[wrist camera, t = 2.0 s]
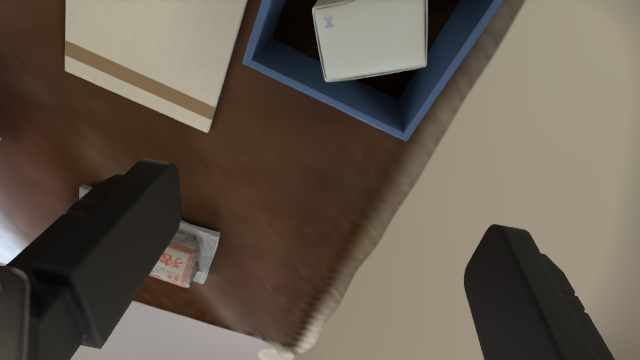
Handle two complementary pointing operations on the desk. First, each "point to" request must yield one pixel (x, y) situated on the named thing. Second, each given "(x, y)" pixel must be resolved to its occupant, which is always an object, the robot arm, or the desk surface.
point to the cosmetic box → (370, 37)
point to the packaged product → (183, 253)
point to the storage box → (356, 96)
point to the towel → (155, 51)
